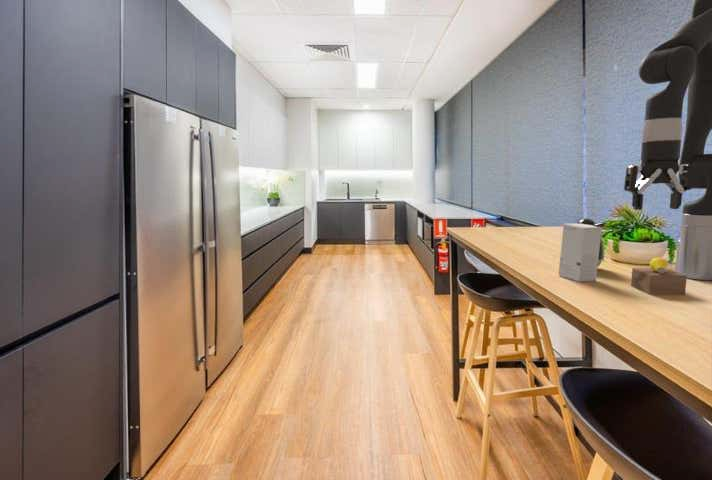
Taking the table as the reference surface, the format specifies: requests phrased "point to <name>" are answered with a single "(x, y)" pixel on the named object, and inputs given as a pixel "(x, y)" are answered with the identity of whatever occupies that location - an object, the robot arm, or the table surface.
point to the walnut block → (658, 282)
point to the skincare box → (580, 252)
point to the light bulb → (658, 265)
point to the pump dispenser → (601, 250)
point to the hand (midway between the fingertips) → (655, 209)
